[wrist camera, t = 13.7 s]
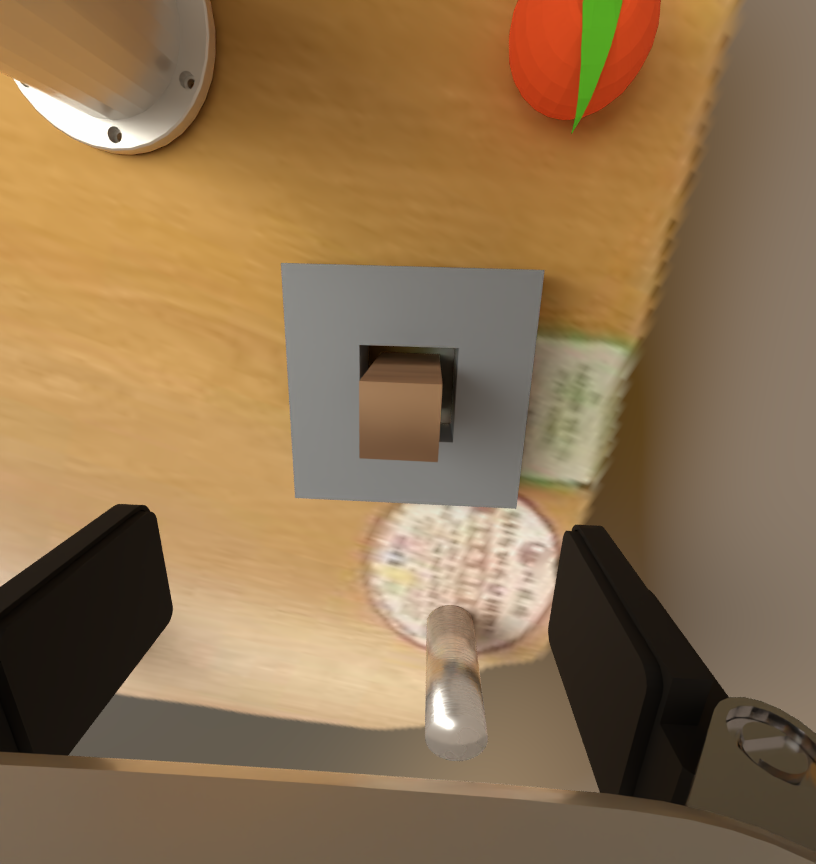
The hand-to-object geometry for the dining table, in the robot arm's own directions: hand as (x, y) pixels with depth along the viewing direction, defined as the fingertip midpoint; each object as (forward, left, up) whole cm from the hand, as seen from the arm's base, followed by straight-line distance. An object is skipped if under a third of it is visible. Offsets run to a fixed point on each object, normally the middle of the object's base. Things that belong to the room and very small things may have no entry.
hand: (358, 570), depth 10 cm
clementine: (-18, +8, -22) cm, 30 cm away
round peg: (+21, +4, -22) cm, 31 cm away
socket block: (0, 0, -22) cm, 22 cm away
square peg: (0, 0, -22) cm, 22 cm away
